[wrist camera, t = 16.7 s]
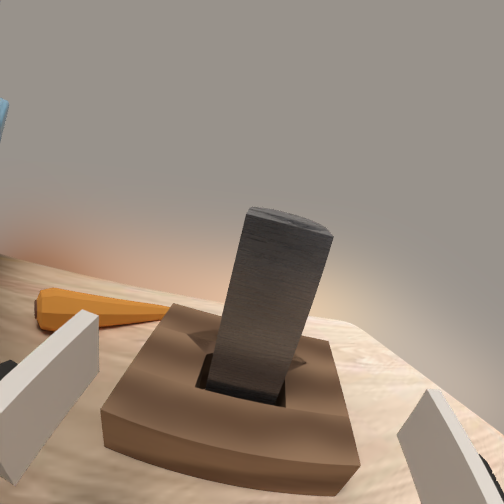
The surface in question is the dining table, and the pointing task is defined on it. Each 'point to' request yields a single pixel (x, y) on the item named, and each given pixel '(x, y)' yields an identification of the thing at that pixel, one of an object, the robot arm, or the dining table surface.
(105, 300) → the carrot
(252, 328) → the d peg
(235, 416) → the socket block
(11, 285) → the dining table surface
